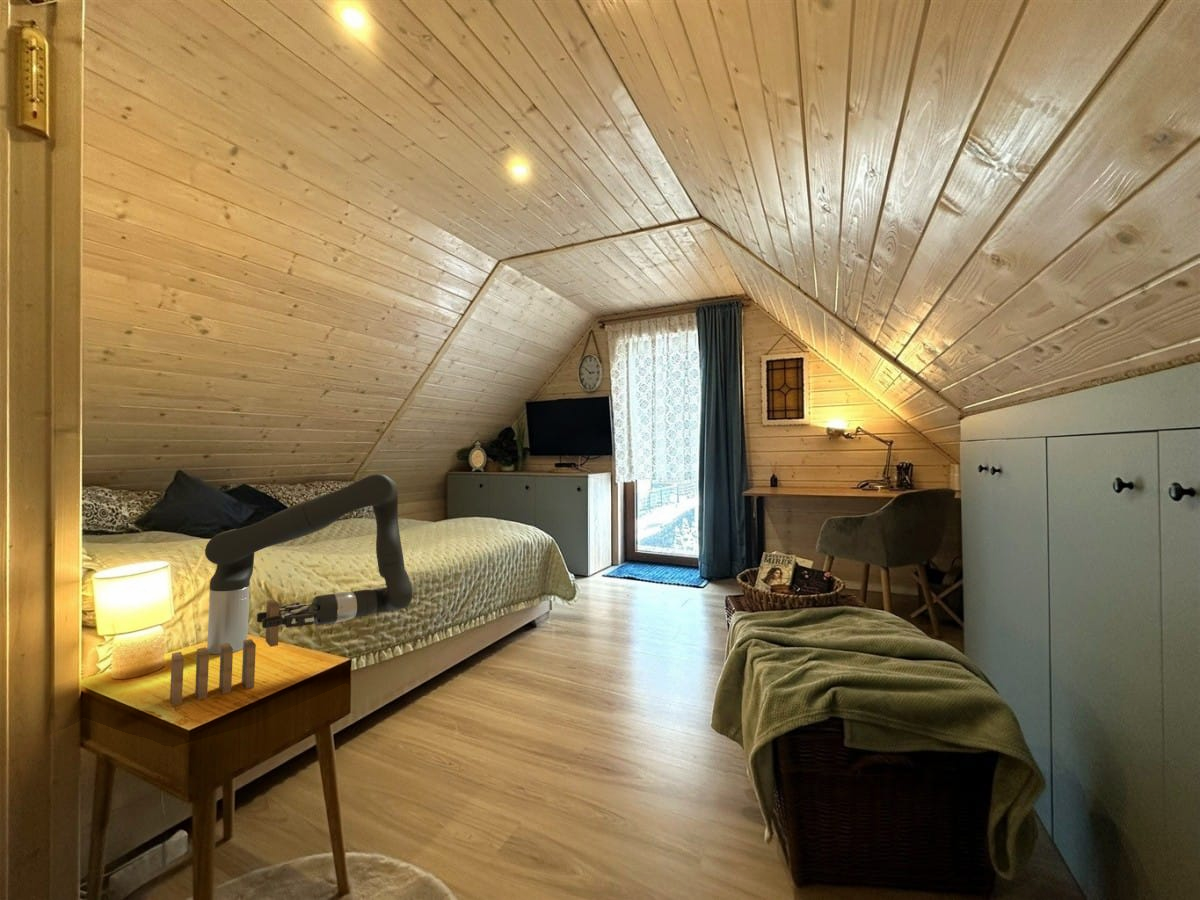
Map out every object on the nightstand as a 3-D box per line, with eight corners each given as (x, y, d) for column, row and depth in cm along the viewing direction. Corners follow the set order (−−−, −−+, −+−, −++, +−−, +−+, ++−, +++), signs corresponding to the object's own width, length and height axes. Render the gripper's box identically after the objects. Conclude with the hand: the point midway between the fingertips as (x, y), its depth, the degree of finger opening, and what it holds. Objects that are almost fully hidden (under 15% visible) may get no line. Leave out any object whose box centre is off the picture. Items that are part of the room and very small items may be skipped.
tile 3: (219, 687, 124) (220, 644, 124) (227, 685, 125) (228, 642, 126) (222, 694, 121) (224, 650, 121) (231, 692, 122) (232, 649, 122)
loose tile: (265, 641, 131) (266, 600, 131) (273, 639, 132) (274, 599, 132) (270, 646, 127) (271, 605, 127) (278, 645, 128) (279, 604, 128)
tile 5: (170, 698, 118) (171, 653, 118) (179, 696, 119) (181, 651, 119) (172, 706, 115) (174, 660, 115) (181, 704, 116) (183, 658, 116)
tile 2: (241, 681, 127) (243, 640, 128) (249, 680, 129) (251, 638, 129) (246, 688, 124) (247, 646, 124) (254, 686, 125) (255, 644, 125)
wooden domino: (195, 692, 121) (197, 648, 121) (203, 690, 122) (205, 647, 122) (198, 700, 118) (200, 655, 118) (207, 698, 119) (209, 653, 119)
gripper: (326, 588, 145) (253, 598, 133) (344, 599, 134) (267, 612, 123) (325, 615, 145) (252, 628, 133) (343, 629, 134) (266, 644, 122)
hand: (260, 620), depth 128 cm, fingers closed on loose tile, 5 cm apart
